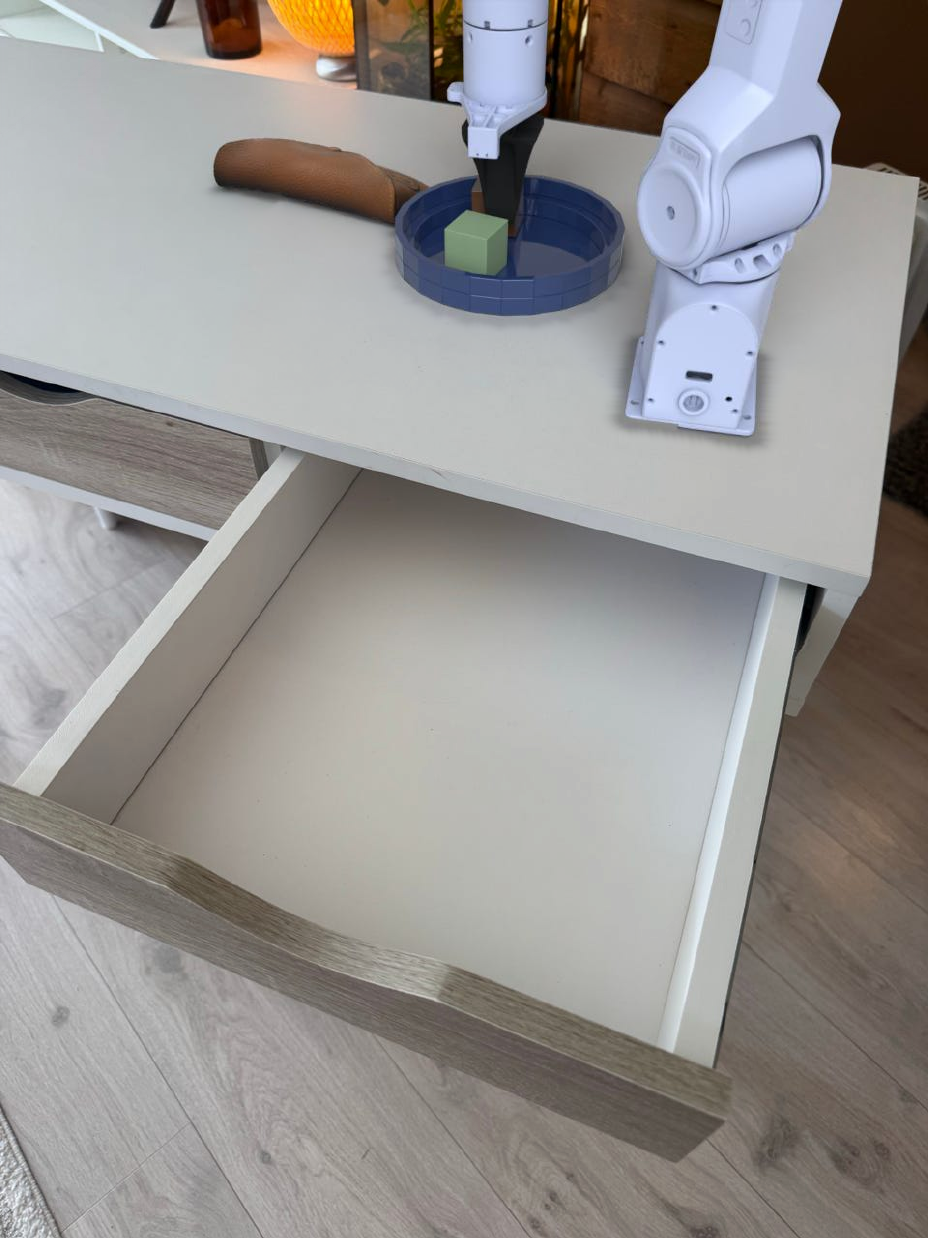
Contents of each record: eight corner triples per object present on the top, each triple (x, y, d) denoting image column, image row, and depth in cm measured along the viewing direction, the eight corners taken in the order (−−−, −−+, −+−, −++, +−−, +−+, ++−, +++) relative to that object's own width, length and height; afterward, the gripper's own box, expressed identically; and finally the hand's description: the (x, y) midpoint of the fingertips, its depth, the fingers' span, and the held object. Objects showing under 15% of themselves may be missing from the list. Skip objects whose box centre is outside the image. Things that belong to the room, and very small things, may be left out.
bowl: (604, 334, 66) (609, 292, 63) (370, 306, 68) (366, 264, 66) (630, 223, 77) (635, 184, 75) (428, 202, 79) (426, 163, 77)
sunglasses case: (444, 188, 80) (423, 132, 74) (413, 259, 79) (389, 208, 73) (268, 150, 85) (235, 95, 79) (237, 217, 84) (201, 166, 78)
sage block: (486, 285, 69) (487, 239, 67) (444, 274, 70) (444, 228, 68) (506, 264, 71) (508, 219, 69) (466, 253, 72) (466, 209, 70)
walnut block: (515, 237, 74) (515, 192, 71) (472, 234, 75) (470, 190, 72) (523, 217, 76) (523, 173, 74) (481, 215, 77) (480, 171, 74)
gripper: (470, -15, 68) (471, 176, 78) (420, 48, 59) (428, 257, 69) (566, -10, 67) (555, 183, 77) (531, 55, 57) (523, 266, 67)
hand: (501, 219), depth 73 cm, fingers closed, pressing on walnut block
